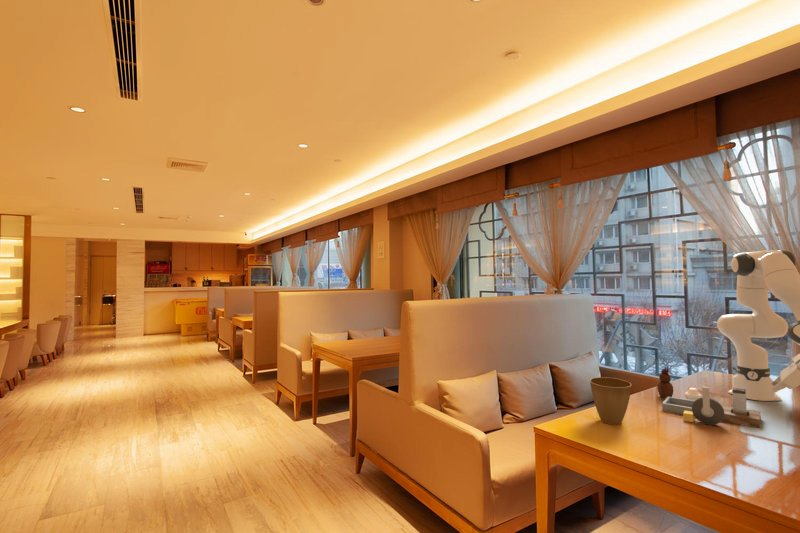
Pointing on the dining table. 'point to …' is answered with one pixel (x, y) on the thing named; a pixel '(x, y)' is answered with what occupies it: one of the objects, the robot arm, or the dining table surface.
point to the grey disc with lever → (705, 410)
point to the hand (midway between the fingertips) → (772, 387)
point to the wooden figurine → (665, 384)
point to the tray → (677, 405)
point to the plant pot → (610, 398)
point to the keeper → (742, 417)
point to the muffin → (692, 394)
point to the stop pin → (739, 401)
